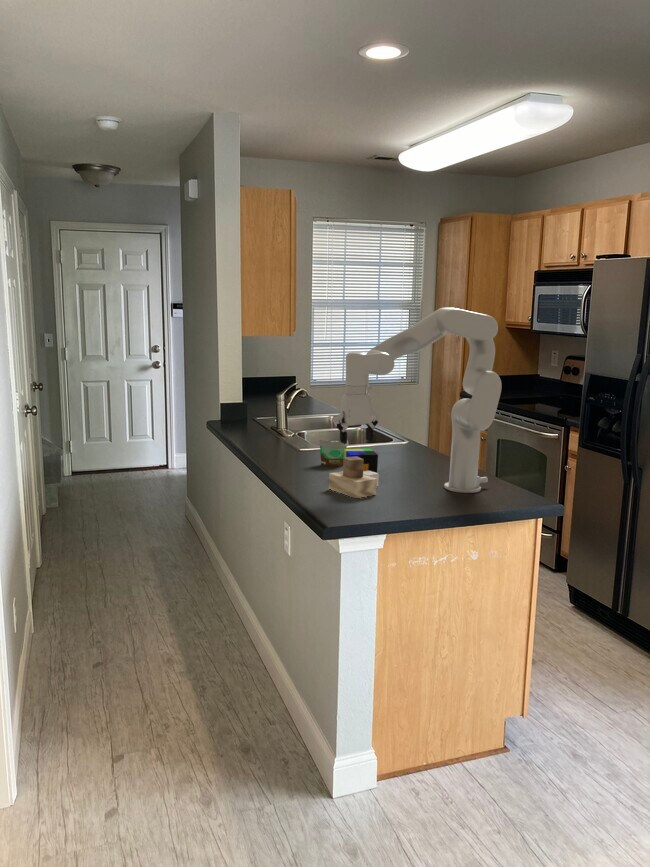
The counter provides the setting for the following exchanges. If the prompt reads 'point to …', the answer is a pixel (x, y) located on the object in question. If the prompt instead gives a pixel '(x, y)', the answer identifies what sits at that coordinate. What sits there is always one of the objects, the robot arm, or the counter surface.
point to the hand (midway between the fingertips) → (356, 441)
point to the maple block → (353, 485)
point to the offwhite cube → (372, 475)
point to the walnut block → (353, 467)
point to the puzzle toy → (365, 454)
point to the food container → (332, 453)
